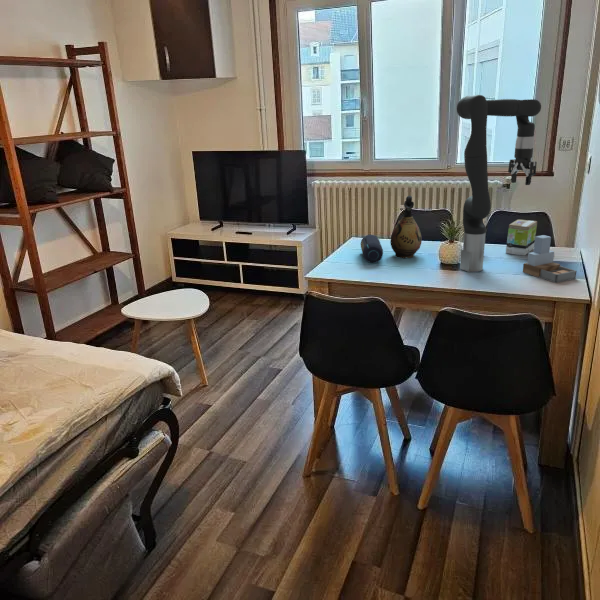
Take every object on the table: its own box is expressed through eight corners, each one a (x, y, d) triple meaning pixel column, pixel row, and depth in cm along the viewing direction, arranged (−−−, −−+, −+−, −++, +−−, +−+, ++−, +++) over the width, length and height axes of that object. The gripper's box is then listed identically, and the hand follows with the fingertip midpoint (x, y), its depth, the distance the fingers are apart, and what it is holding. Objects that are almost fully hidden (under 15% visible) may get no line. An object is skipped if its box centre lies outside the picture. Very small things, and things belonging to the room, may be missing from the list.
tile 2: (556, 271, 227) (555, 275, 228) (564, 273, 224) (563, 278, 224) (563, 269, 229) (562, 274, 229) (571, 272, 225) (570, 276, 226)
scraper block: (534, 266, 230) (537, 239, 226) (527, 263, 234) (529, 237, 230) (553, 262, 234) (556, 235, 230) (545, 260, 238) (549, 234, 234)
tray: (556, 282, 221) (557, 274, 220) (540, 277, 228) (541, 269, 227) (575, 278, 225) (576, 270, 224) (559, 273, 232) (560, 265, 231)
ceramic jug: (421, 260, 260) (424, 199, 250) (390, 260, 263) (391, 199, 252) (420, 251, 276) (422, 193, 265) (390, 251, 278) (391, 193, 268)
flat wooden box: (538, 277, 229) (539, 268, 227) (522, 271, 236) (523, 263, 235) (559, 273, 233) (560, 264, 231) (543, 267, 241) (544, 259, 239)
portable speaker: (360, 251, 280) (360, 233, 277) (379, 251, 280) (379, 232, 276) (363, 265, 257) (363, 245, 254) (383, 264, 256) (384, 244, 253)
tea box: (525, 256, 259) (529, 226, 254) (505, 253, 265) (507, 224, 260) (534, 248, 270) (537, 220, 265) (514, 246, 276) (517, 218, 271)
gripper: (506, 146, 241) (502, 182, 247) (529, 148, 228) (526, 186, 234) (518, 145, 243) (515, 181, 249) (543, 147, 231) (538, 184, 237)
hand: (520, 183), depth 242 cm, fingers open, 8 cm apart
